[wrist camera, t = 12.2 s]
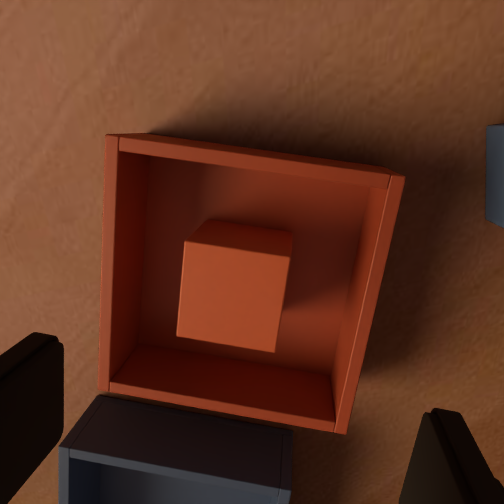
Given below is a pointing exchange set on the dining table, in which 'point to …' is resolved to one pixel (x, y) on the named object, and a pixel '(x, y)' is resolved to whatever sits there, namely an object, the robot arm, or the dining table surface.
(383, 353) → the dining table surface
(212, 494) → the blue bin
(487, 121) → the dining table surface
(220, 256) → the terracotta block
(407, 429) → the dining table surface
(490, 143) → the blue block
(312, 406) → the terracotta bin
